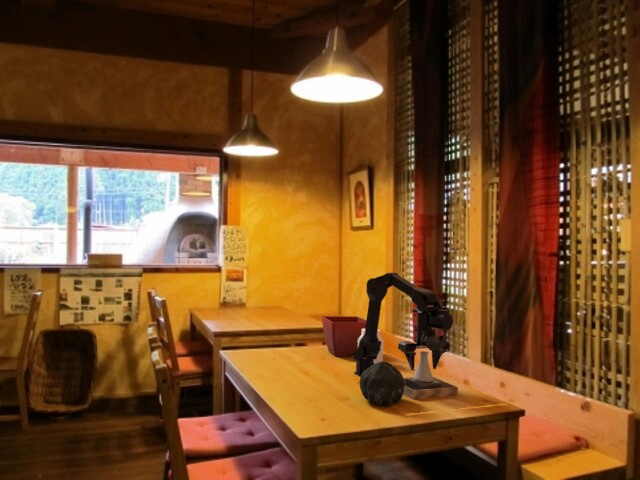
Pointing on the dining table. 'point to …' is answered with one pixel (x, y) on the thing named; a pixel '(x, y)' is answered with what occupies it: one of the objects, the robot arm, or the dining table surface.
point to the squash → (382, 384)
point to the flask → (423, 369)
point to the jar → (380, 355)
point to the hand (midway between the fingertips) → (423, 369)
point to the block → (422, 384)
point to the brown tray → (431, 391)
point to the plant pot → (342, 333)
